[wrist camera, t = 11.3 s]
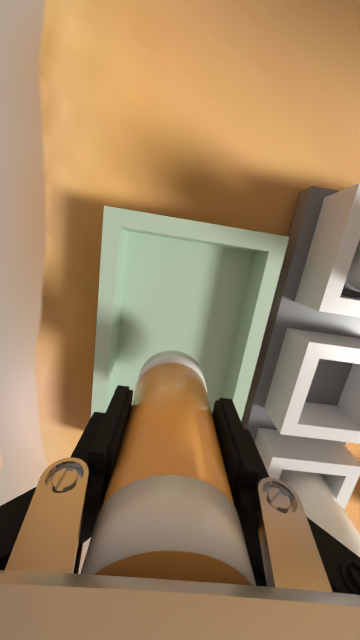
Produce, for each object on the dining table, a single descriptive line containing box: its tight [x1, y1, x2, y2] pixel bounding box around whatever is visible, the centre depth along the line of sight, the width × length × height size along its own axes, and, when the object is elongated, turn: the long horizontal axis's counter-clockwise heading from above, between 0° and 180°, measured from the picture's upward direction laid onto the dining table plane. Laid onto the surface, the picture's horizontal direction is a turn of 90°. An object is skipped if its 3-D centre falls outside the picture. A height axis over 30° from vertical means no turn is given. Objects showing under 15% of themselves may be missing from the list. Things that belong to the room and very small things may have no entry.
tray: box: [91, 206, 289, 421], centre depth 18 cm, size 19×11×4 cm, turn 171°
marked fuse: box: [81, 351, 256, 586], centre depth 10 cm, size 4×4×10 cm
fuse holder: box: [241, 184, 360, 510], centre depth 18 cm, size 26×9×4 cm, turn 171°
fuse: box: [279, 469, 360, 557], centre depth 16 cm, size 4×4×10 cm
